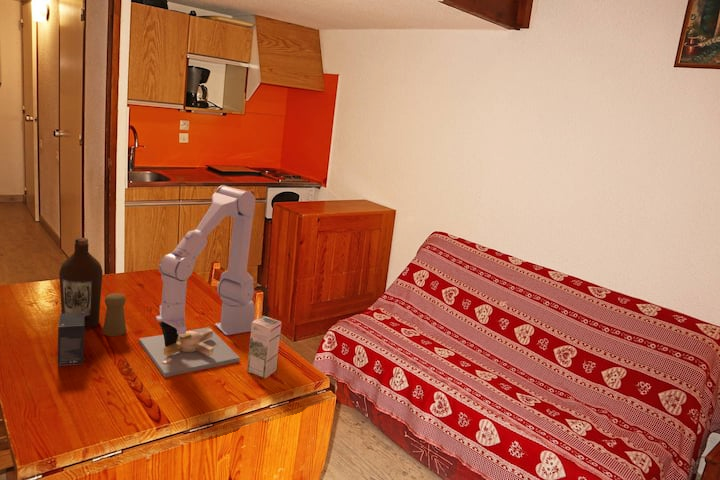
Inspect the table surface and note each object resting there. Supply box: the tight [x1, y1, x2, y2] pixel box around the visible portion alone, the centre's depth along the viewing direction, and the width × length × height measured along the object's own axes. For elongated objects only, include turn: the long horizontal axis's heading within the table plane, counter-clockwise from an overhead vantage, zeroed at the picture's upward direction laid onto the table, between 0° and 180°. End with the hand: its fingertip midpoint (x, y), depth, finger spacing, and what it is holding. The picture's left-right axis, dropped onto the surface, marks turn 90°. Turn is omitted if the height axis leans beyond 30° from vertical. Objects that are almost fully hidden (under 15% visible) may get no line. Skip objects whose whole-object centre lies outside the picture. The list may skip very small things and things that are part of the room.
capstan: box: [164, 328, 214, 356], centre depth 143 cm, size 12×12×4 cm
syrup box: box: [246, 315, 282, 379], centre depth 138 cm, size 6×6×14 cm
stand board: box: [138, 326, 240, 378], centre depth 144 cm, size 20×20×2 cm
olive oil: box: [58, 237, 103, 331], centre depth 148 cm, size 11×11×25 cm
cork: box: [102, 292, 127, 337], centre depth 148 cm, size 6×6×11 cm
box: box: [57, 313, 85, 367], centre depth 132 cm, size 8×6×11 cm
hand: (170, 348), depth 140 cm, fingers closed, pressing on capstan
